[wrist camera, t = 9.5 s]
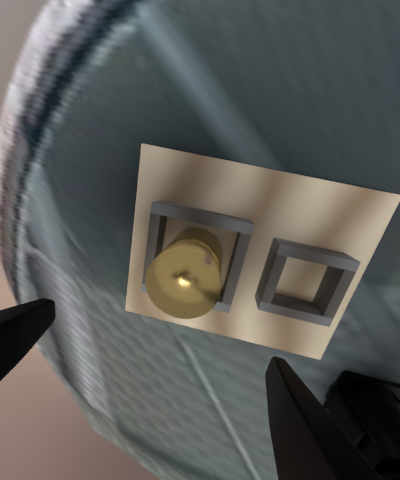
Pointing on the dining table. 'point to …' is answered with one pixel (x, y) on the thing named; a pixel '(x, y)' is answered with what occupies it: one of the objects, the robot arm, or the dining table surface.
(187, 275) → the cylinder
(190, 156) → the board
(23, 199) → the dining table surface
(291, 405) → the robot arm
